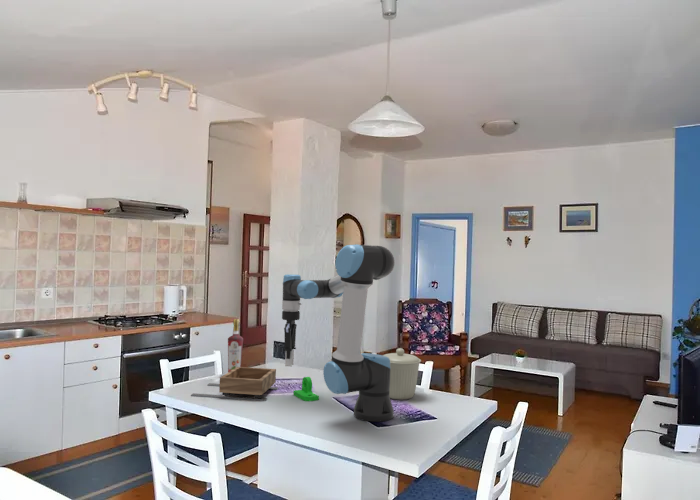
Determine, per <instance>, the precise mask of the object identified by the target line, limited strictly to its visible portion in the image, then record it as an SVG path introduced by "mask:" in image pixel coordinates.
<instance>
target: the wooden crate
mask: <svg viewBox="0 0 700 500" xmlns="http://www.w3.org/2000/svg"><path fill="white" fill-rule="evenodd" d="M276 376H277V369H276V368H266V367H265V368H264V367H263V368H262V367H248V366H247V367H246V366H241V367H236V368H235V369H233V370H231V371H230V372H228V371H227V373H225V374H224V375H222V376H220V377H219V384H220V386H218V387H219V388H218V389H219V393H222V394H223V395H225V396H230V394H239V395H253V397H255V398H260V397H261V396H262V395H264V393H266V392H267V391H268V390H270V389H269V388H270V387H273V385H275V383H277V382H276V379H277V377H276Z"/></svg>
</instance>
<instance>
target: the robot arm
mask: <svg viewBox="0 0 700 500" xmlns="http://www.w3.org/2000/svg"><path fill="white" fill-rule="evenodd" d="M334 264H335V269H336V273H337V275H335V276H333V277H330V278H328V279H318V280H316V279H313V280H312V279H302V277H301V275H300V274H289V273H287V274H284V275H283V277H282V278H283V280H282V304H281V305H282V306H281V308H282V312H281V319H282V321H283V320H284V321H286V323H285V325H284V327H283V330H284V349H283V351H284V352H285V359H284V361H285V363H284V364H285V367H293V366H294V363H295V361H294V359H295V358H294V357H295V356H294V355H295V350H297V347H296V337H297V336H296V335H297V326H298V325H297V324H296V321H299V320H300V317H301V316H300V315H301V311H300V308H301V305H302V303H301V299H304V300H312V299H327V298H330V299H335V298H340V297H342V302H341V309H340V316H339V317H340V318H339V319H340V321H339V327H338V336H337V343H336V344H337V346H336V350H335V351H333V352H332V353H331V360H330V361H328V362H326V363H325V364H324V366H323V374H322V375H323V379H324V383H325V384H326V387H327V389H328V390H329V391H330V392H331V393H333V394H335V395H341V394H343V395H346V394H349V393H350V394H351V393H356V392H358V396H357V398H356V401H355V404H354V408H353V416H354V417H355V418H356V419H358V420H361V421H365V422H387V421H390V420H392V419H393V418H394V415H395V414H394V407H393V404H392V400H391V398H390V396H389V393H390V369H391V367H390V359H389V358H388V357H386V356H383V355H384V354H377V353H369V352H368V353H367V352H362V353H361V349H362V348H361V347H362V341H363V332H364V324H365V315H366V307H367V298H368V289H369V288H370V287H371V286H372V285H373V283H374V282H373V281H377V280H378V281H379V280H380V279H383V278H386V277H388V276H389V275H390V274H391V273H392V271H393V270H394V268H395V257H394V255H393V253H392V252H391V250H389V249H388V248H387V247H385V246H383V245H382V246H381V245H371V244H356V243H355V244H347V245H345V246H343V247H342V248H341V249H340V250H339V251H338V253H337V256H336V258H335V263H334Z"/></svg>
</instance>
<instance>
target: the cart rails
mask: <svg viewBox="0 0 700 500" xmlns="http://www.w3.org/2000/svg"><path fill="white" fill-rule="evenodd" d="M207 386H208V387H209V386H211V387H220V383H211V382H210V383H208V384H207ZM268 390H270V391H271V390H273V391H277V390H279V387H277V386H276V387H275V386H271V387H270V388H269V389H268ZM190 396H191V397H198V398H199V397H200V398H201V397H202V398H215V399H216V398H217V399H228V400H229V399H231V400H232V399H233V400H243V401H244V400H247V401H259V402H260V401H264V402H266V401H267V400H268V397H258V398H255V397H254V396H243V395H242V396H240V395H239V396H238V395H228V396H225V395H224V394H209V393H192V394H190Z"/></svg>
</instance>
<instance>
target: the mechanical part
mask: <svg viewBox="0 0 700 500" xmlns="http://www.w3.org/2000/svg"><path fill="white" fill-rule="evenodd" d="M292 395H293V396H295V397H296V398H298V399H300V400H302V401H305V402H313V401H319V400H320V396H319V395H318V394H316V393H314V392H313V382H312V378H311V377H310V376H304V377H303V378H302V380H301V389H297V390H293V394H292Z"/></svg>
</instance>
